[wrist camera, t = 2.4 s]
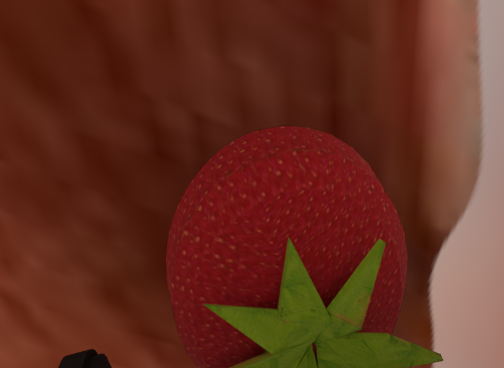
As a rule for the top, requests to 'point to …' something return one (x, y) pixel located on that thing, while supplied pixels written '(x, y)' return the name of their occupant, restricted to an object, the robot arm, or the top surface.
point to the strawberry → (289, 258)
